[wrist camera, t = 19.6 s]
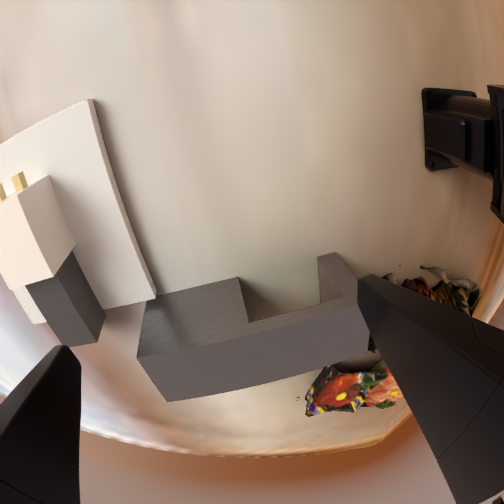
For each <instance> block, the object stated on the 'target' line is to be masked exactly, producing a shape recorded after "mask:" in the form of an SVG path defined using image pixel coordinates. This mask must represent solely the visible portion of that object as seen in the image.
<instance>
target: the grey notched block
mask: <svg viewBox="0 0 504 504" xmlns="http://www.w3.org/2000/svg"><path fill="white" fill-rule="evenodd" d="M317 261H318V274H319V288H320V304H318V305H314V306H311V307H307V308H304V309H300V310H296V311H293V312H289V313H285V314H281V315H278V316H274V317H270V318H266V319H262V320H258V321H254V322H250V321H249V318H248V314H247V310H246V306H245V302H244V299H243V295H242V291H241V287H240V283H239V279H238V277H236V278H232V279H228V280H224V281H219V282H215V283H211V284H207V285H203V286H198V287H194V288H190V289H186V290H181V291H177V292H173V293H169V294H164V295H160V296H156V298H155V299H151V300H147V302H146V307H145V312H144V317H143V322H142V328H141V333H140V339H139V345H138V351H137V359H138V361H139V362H140V364H141V365H142V367H143V368H144V370H145V371H146V373H147V374H148V376H149V377H150V379H151V380H152V382H153V383H154V384H155V386H156V387H157V389H158V390H159V391H160V393H161V394H162V396H163V397H164V398H165V400H166V401H167V402H172V401H179V400H185V399H191V398H197V397H203V396H209V395H214V394H219V393H225V392H230V391H234V390H239V389H244V388H248V387H252V386H257V385H261V384H265V383H269V382H273V381H277V380H281V379H285V378H288V377H292V376H296V375H299V374H303V373H306V372H309V371H313V370H316V369H319V368H323V367H326V366H329V365H332V364H335V363H338V362H341V361H344V360H347V359H350V358H353V357H356V356H359V355H361V354H364V353H367V350H368V342H369V334H370V332H369V329H368V327H367V325H366V322H365V320H364V318H363V316H362V314H361V311H360V309H359V307H358V303H357V284H358V280H357V278H356V277H355V276H354V274H353V273H352V272H351V271H350V269H349V268H348V267H347V266H346V264H345V263H344V262H343V261H342V259H341V258H340V257H339V256H338V255H337V253H336V252H335V253H331V254H327V255H323V256H319V257H317Z"/></svg>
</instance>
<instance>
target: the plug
mask: <svg viewBox="0 0 504 504" xmlns="http://www.w3.org/2000/svg"><path fill="white" fill-rule="evenodd" d="M11 178H12V181H13V184H14V187H15V190H16V191H15V192H13V193H11V194H10V195H8V196H6V194H5V191H4V188H3V185H2V183H1V184H0V273H1V275H2V276H3V278H4V280H5V282H6V284H7V285H8V287H9V289H10V290H12V289H15V288H19V287H22V286H25V287H26V289H27V290H28V292H29V294H30V296H31V297H32V299H33V301H34V302H35V304H36V306H37V307H38V309H39V310H40V312H41V313H42V315H43V317H44V318H45V320H46V321H47V323H48V324H49V326H50V327H51V329H52V330H53V332H54V333H55V334H56V336H57V337H58V339H59V340H60V342H61V343H62V344H63V345H67V346H68V347H73V346H79V345H85V344H91V343H97V342H98V338H99V335H100V332H101V329H102V326H103V322H104V319H105V316H106V314H105V312H104V310H103V309H102V307H101V305H100V303H99V302H98V300H97V298H96V296H95V294H94V292H93V291H92V289H91V287H90V285H89V283H88V281H87V279H86V277H85V275H84V273H83V271H82V269H81V267H80V265H79V263H78V261H77V259H76V257H75V255H74V253H73V251H72V249H73V248H74V246H75V245H76V243H75V241H74V238H73V236H72V234H71V231H70V229H69V227H68V224H67V222H66V219H65V217H64V215H63V212H62V210H61V207H60V204H59V202H58V199H57V196H56V194H55V191H54V188H53V185H52V183H51V180H50V177H49V175H47V176H45V177H43V178H41V179H39V180H37V181H35V182H33V183H31V184H29V185H28V184H27V182H26V179H25V176H24V173H23V171H22V172H20V173H18V174H17V175H15V176H13V177H11Z"/></svg>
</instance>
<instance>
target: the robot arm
mask: <svg viewBox="0 0 504 504" xmlns="http://www.w3.org/2000/svg"><path fill="white" fill-rule="evenodd" d="M487 89H488V93H489V95H490V100H486V99H480V98H477V96H476V93H475V92H472V91H463V90H453V89H441V88H424V89H423V90H422V102H423V115H424V132H425V166H426V168H427V169H429V170H431V171H435V170H441V169H448V168H455V167H462V168H464V169H467V170H469V171H471V172H474V173H476V174H478V175H480V176H483V177H485V178H487V179H489V180H491V181H493V194H492V201H491V206H490V210H491V211H492V212H493V213H494V214H495V215H496V216H497V217H498V218H499V219H500V220H501V221H502V223H503V224H504V85H487ZM427 93H429V96H428V95H427ZM431 162H432V165H431ZM357 303H358V307H359V309H360V311H361V314H362V316H363V318H364V320H365V322H366V325H367V327H368V329H369V332H370V334H371V336H372V338H373V341H374V343H375V345H376V347H377V349H378V351H379V353H380V355H381V357H382V358H383V360H384V362H385V364H386V365H387V367H388V369H389V371H390V372H391V374H392V376H393V378H394V379H395V381H396V383H397V385H398V387H399V389H400V390H401V392H402V394H403V396H404V398H405V400H406V401H407V403H408V405H409V407H410V409H411V411H412V413H413V414H414V416H415V418H416V420H417V422H418V424H419V426H420V428H421V430H422V432H423V434H424V436H425V438H426V440H427V442H428V444H429V446H430V447H431V450H432V452H433V454H434V456H435V458H436V459H437V462H438V464H439V467H440V468H441V471H442V473H443V475H444V477H445V479H446V481H447V484H448V486H449V488H450V490H451V492H452V495H453V497H454V499H455V501H456V504H479V503H481V502H483V501H485V500H487V499H489V498H491V497H493V496H495V495H496V494H498V493H500V496H499V497H498V498H497V499H495V500H494V501H493V503H492V504H504V330H501V329H499V328H496V327H494V326H491V325H489V324H487V323H484V322H482V321H480V320H478V319H475V318H473V317H472V318H471V317H470V316H469V315H466V314H464V313H462V312H460V311H457V310H455V309H453V308H451V307H448V306H446V305H444V304H441V303H439V302H437V301H435V300H432V299H430V298H428V297H425V296H423V295H421V294H418V293H416V292H414V291H411V290H409V289H407V288H404V287H402V286H400V285H397V284H395V283H393V282H390V281H388V280H385V279H383V278H381V277H378V276H376V275H373V274H368V275H365V276H362V277H360V278H359V279H358V284H357ZM80 420H81V364H80V362H79V360H78V359H77V358H76V356H75V355H74V354H73V352H72V351H71V350H70V348H69V347H68V346H67V345H57V346H55V347H54V348H53V349H52V350H51V351H50V352H49V353H48V354H47V355H46V356H45V357H44V358H43V359H42V360H41V361H40V362H39V363H38V364H37V365H36V366H35V367H34V368H33V369H32V370H31V371H30V372H29V373H28V375H27V376H26V377H25V378H24V379H23V380H22V381H21V382H20V383H19V384H18V385H17V386H16V388H15V389H14V390H13V391H12V392H11V393H10V394H9V395H8V396H7V397H6V399H5V400H4V401H3V402H2V403H1V404H0V504H80V489H79V488H80V487H79V440H80Z"/></svg>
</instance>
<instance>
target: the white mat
mask: <svg viewBox="0 0 504 504" xmlns="http://www.w3.org/2000/svg"><path fill="white" fill-rule="evenodd" d="M22 171H23V173H24V176H25V179H26V182H27V184H28V185H29V184H31V183H33V182H35V181H37V180H39V179H41V178H43V177H45V176H47V175H49V177H50V180H51V183H52V185H53V188H54V191H55V194H56V196H57V199H58V202H59V204H60V207H61V210H62V212H63V215H64V217H65V219H66V222H67V224H68V227H69V229H70V231H71V234H72V236H73V238H74V241H75V243H76V245H75V246H74V248H73V249H72V251H73V253H74V255H75V257H76V259H77V261H78V263H79V265H80V267H81V269H82V271H83V273H84V275H85V277H86V279H87V281H88V283H89V285H90V287H91V289H92V291H93V292H94V294H95V296H96V298H97V300H98V302H99V303H100V305H101V307H102V309H103V310H106V309H110V308H115V307H120V306H124V305H129V304H133V303H138V302H142V301H147V300H151V299H155V298H156V293H157V289H156V287H155V285H154V282H153V280H152V277H151V275H150V273H149V270H148V268H147V265H146V263H145V261H144V258H143V256H142V253H141V250H140V248H139V245H138V243H137V240H136V238H135V235H134V232H133V230H132V227H131V224H130V221H129V219H128V216H127V213H126V210H125V207H124V205H123V202H122V199H121V196H120V193H119V190H118V187H117V184H116V181H115V177H114V174H113V171H112V168H111V165H110V161H109V158H108V155H107V151H106V148H105V144H104V141H103V137H102V133H101V130H100V126H99V122H98V118H97V114H96V110H95V106H94V102H93V99H86V100H83V101H81V102H79V103H77V104H74V105H72V106H70V107H68V108H66V109H64V110H61V111H59V112H57V113H55V114H53V115H51V116H49V117H47V118H45V119H44V120H42V121H40V122H38V123H36V124H34V125H32V126H31V127H29V128H27V129H25V130H23V131H22V132H20V133H18V134H17V135H15V136H13V137H12V138H10V139H8V140H7V141H5V142H3V143H2V144H0V184H1V183H2V185H3V188H4V191H5V194H6V196H8V195H10V194H11V193H13V192H15V191H16V190H15V187H14V184H13V181H12V178H11V177H13V176H15V175H17V174H18V173H20V172H22ZM12 290H13V292H14V294H15V295H16V297H17V299H18V300H19V302H20V304H21V305H22V307H23V309H24V310H25V312H26V313H27V315H28V316H29V318H30V320H31V321H32V323H33V324H38V323H43V322H47V321H46V320H45V318H44V317H43V315H42V313H41V312H40V310H39V309H38V307H37V306H36V304H35V302H34V301H33V299H32V297H31V296H30V294H29V292H28V290H27V289H26V287H25V286H22V287H19V288H15V289H12Z"/></svg>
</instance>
